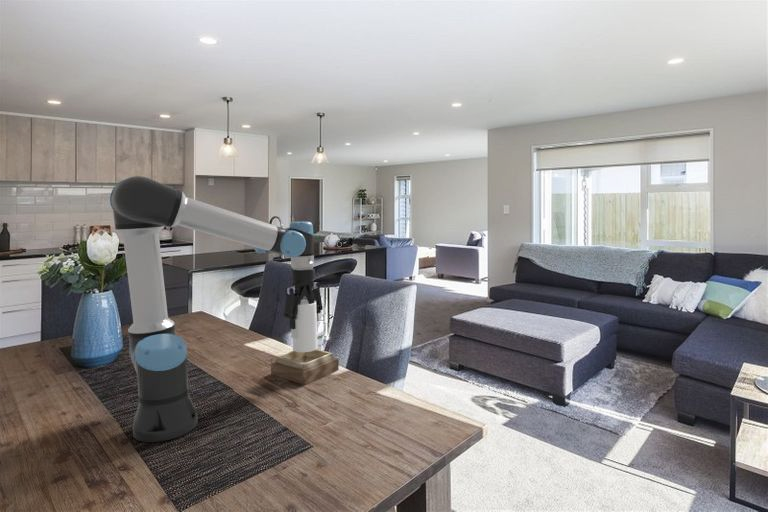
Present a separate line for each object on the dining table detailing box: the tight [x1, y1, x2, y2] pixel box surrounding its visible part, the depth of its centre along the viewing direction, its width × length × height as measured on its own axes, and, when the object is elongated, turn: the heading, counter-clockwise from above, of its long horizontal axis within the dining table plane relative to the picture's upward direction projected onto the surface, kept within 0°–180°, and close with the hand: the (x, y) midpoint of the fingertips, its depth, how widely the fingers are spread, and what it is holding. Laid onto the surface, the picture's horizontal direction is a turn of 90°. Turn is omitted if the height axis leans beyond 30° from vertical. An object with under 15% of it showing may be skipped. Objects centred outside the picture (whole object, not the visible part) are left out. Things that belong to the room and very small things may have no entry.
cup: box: [291, 299, 318, 352], centre depth 151 cm, size 8×8×16 cm
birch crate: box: [275, 348, 334, 371], centre depth 152 cm, size 13×13×6 cm
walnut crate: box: [270, 356, 340, 386], centre depth 152 cm, size 16×16×5 cm
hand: (304, 334), depth 151 cm, fingers closed on cup, 8 cm apart
